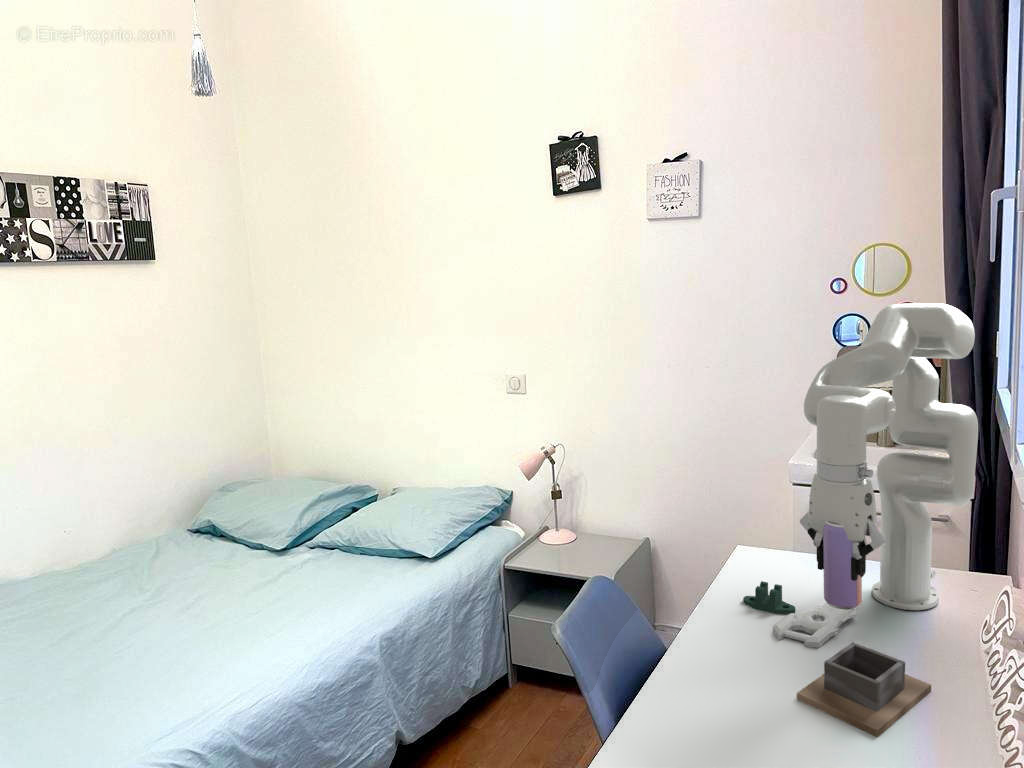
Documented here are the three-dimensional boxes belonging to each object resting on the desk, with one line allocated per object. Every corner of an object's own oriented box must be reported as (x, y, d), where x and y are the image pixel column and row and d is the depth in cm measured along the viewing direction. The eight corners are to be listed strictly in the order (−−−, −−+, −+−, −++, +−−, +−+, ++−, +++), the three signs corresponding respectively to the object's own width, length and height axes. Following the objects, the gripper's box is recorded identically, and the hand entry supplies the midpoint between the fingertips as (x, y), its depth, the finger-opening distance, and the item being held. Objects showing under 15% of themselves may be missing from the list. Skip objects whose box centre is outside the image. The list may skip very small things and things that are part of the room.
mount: (798, 609, 162) (798, 587, 161) (791, 618, 159) (791, 596, 158) (747, 598, 169) (747, 577, 168) (740, 606, 165) (739, 585, 164)
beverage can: (843, 614, 128) (842, 528, 125) (816, 600, 133) (814, 517, 130) (869, 605, 130) (869, 520, 127) (842, 591, 135) (841, 510, 133)
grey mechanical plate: (813, 589, 163) (860, 604, 156) (813, 603, 164) (860, 619, 157) (767, 625, 152) (815, 643, 144) (767, 641, 152) (816, 659, 145)
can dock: (852, 659, 142) (852, 628, 141) (931, 690, 131) (932, 657, 130) (796, 699, 132) (796, 666, 130) (877, 737, 120) (877, 701, 119)
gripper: (904, 475, 123) (902, 581, 126) (808, 455, 136) (808, 552, 140) (878, 486, 118) (877, 596, 122) (782, 465, 132) (783, 564, 135)
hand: (840, 571), depth 131 cm, fingers closed on beverage can, 5 cm apart
